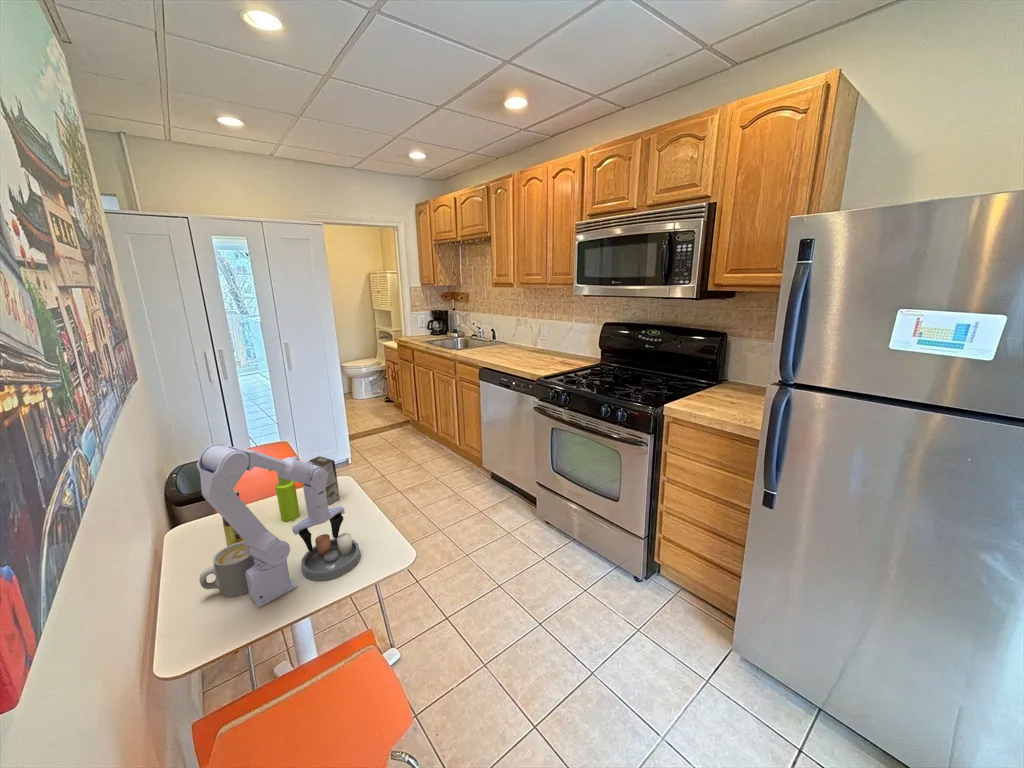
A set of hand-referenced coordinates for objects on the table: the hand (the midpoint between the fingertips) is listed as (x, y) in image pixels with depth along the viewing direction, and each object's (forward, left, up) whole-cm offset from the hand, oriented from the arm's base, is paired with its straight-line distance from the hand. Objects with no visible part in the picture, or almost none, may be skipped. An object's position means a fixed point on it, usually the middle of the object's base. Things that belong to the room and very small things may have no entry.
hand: (323, 543), depth 122 cm
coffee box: (+15, +32, -4) cm, 36 cm away
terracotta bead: (0, 0, -3) cm, 3 cm away
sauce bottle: (-16, +22, -4) cm, 28 cm away
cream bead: (+5, -5, -3) cm, 7 cm away
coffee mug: (-22, +6, -4) cm, 23 cm away
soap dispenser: (+1, +30, -4) cm, 31 cm away
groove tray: (0, -5, -4) cm, 6 cm away
